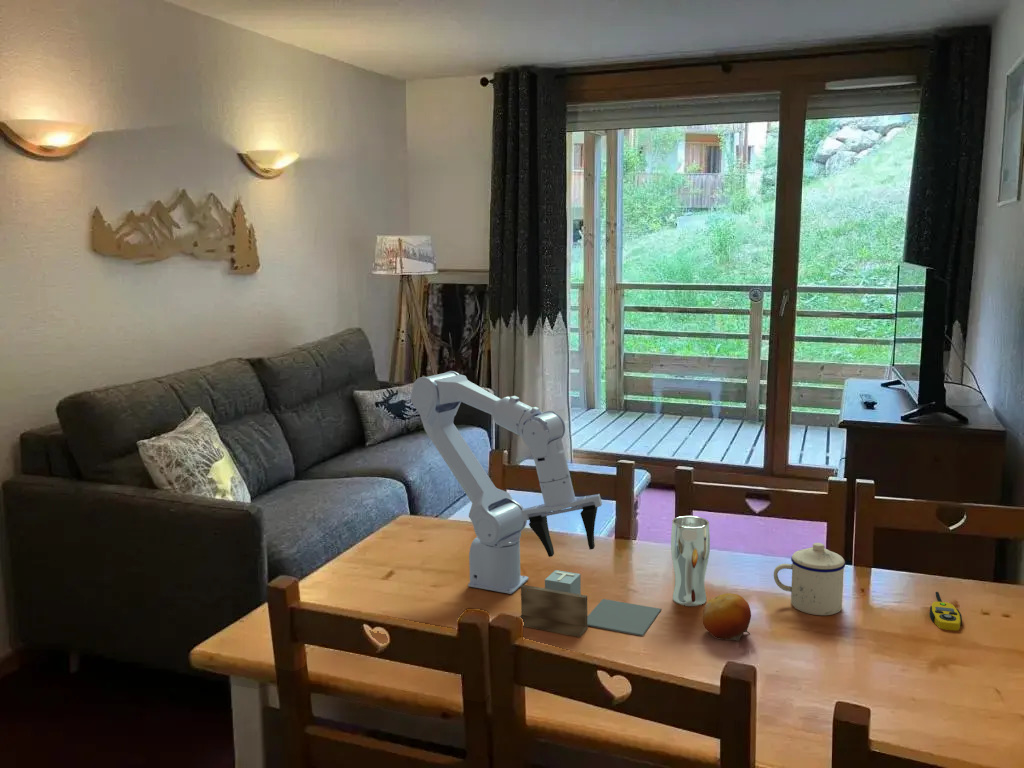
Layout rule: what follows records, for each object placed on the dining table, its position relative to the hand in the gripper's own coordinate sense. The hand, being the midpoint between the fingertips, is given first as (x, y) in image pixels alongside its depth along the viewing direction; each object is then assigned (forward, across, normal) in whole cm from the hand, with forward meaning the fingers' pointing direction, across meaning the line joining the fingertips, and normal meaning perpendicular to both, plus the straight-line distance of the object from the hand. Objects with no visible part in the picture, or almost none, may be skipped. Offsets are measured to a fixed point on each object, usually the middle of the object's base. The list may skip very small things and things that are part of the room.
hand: (571, 551), depth 156 cm
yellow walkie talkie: (+25, +60, +9) cm, 66 cm away
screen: (+10, -5, -9) cm, 14 cm away
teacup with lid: (+19, +38, +8) cm, 44 cm away
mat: (+12, +7, -3) cm, 14 cm away
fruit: (+17, +24, -6) cm, 30 cm away
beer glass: (+14, +18, +6) cm, 24 cm away
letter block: (+9, -4, +1) cm, 10 cm away
